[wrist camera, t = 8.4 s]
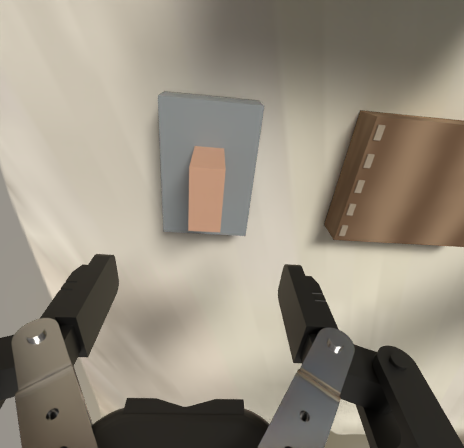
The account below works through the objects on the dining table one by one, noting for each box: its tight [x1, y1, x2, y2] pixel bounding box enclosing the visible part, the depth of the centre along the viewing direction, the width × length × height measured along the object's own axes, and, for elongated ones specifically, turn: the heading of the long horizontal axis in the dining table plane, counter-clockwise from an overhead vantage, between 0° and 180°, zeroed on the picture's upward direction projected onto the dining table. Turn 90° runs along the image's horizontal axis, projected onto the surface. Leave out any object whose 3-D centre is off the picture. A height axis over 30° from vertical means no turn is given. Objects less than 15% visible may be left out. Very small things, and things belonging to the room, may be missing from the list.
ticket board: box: [324, 111, 464, 247], centre depth 27 cm, size 16×12×3 cm
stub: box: [158, 91, 264, 236], centre depth 23 cm, size 8×12×8 cm, turn 174°
